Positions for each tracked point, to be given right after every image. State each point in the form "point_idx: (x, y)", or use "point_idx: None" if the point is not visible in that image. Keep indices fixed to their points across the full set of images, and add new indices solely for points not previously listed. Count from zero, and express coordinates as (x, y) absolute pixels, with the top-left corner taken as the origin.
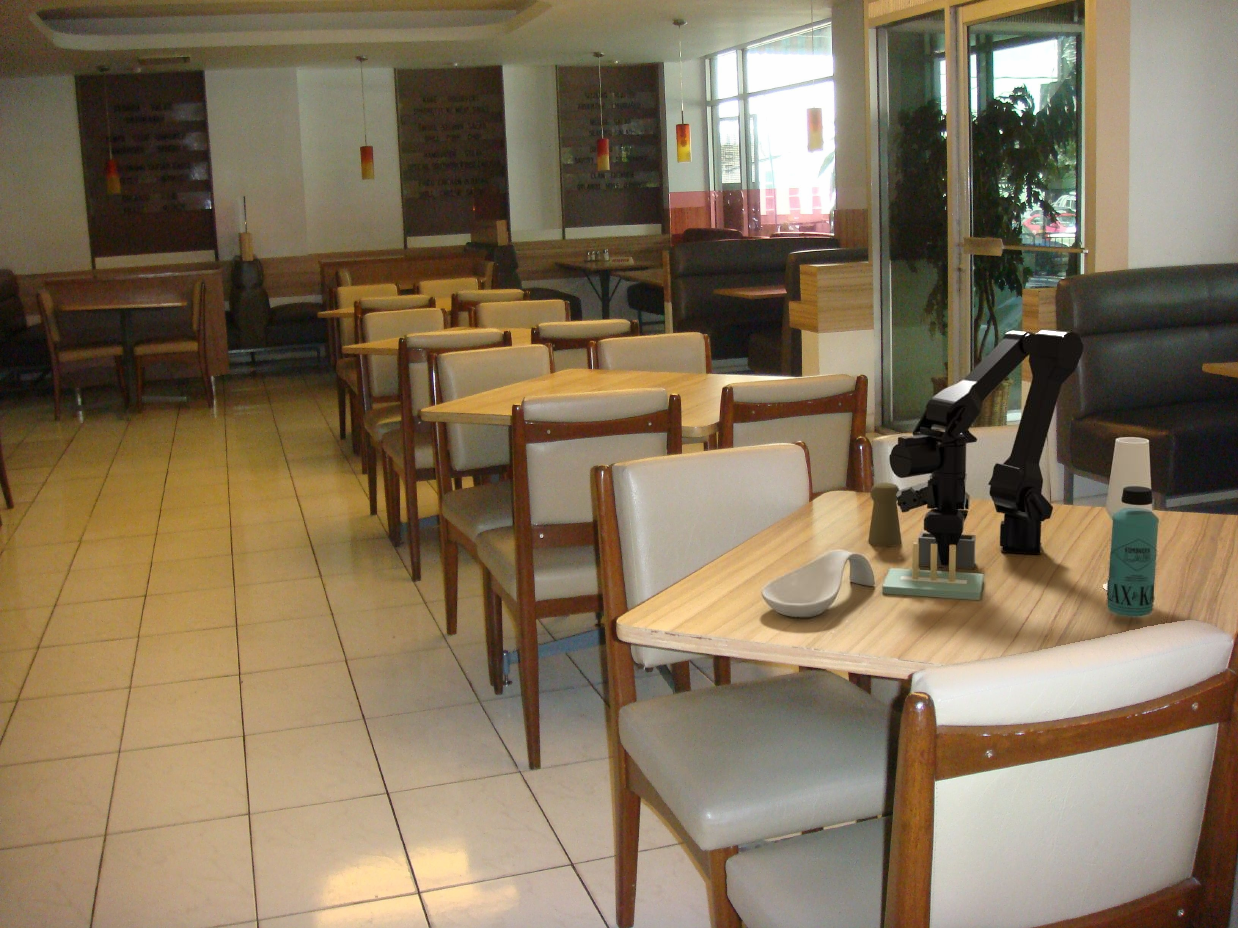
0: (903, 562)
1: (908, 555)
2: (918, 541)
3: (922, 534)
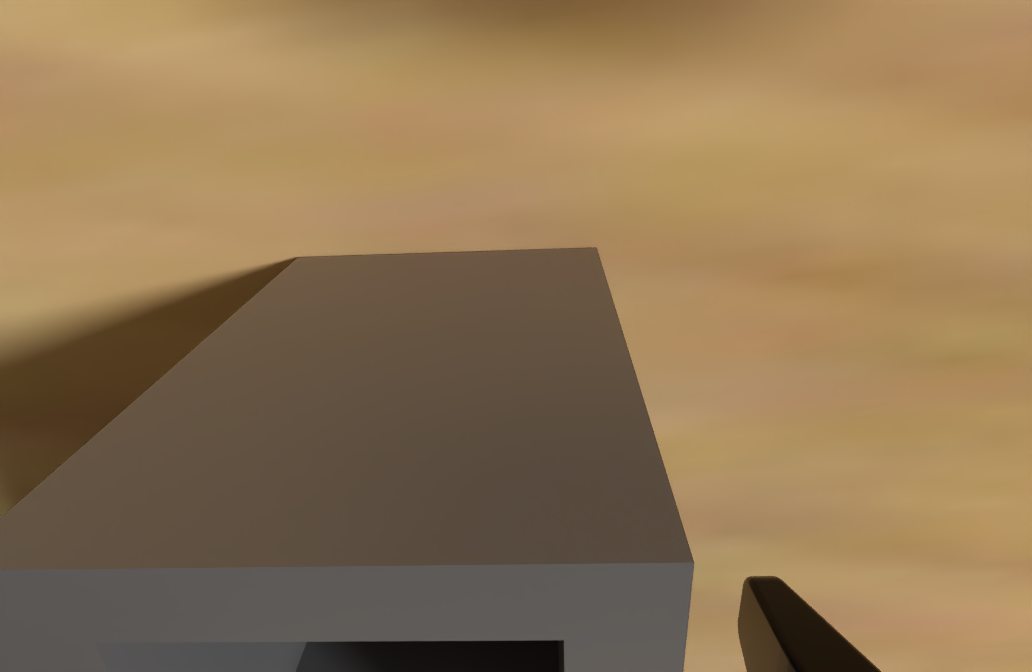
0: (399, 7)
1: (829, 26)
2: (46, 486)
3: (401, 637)
